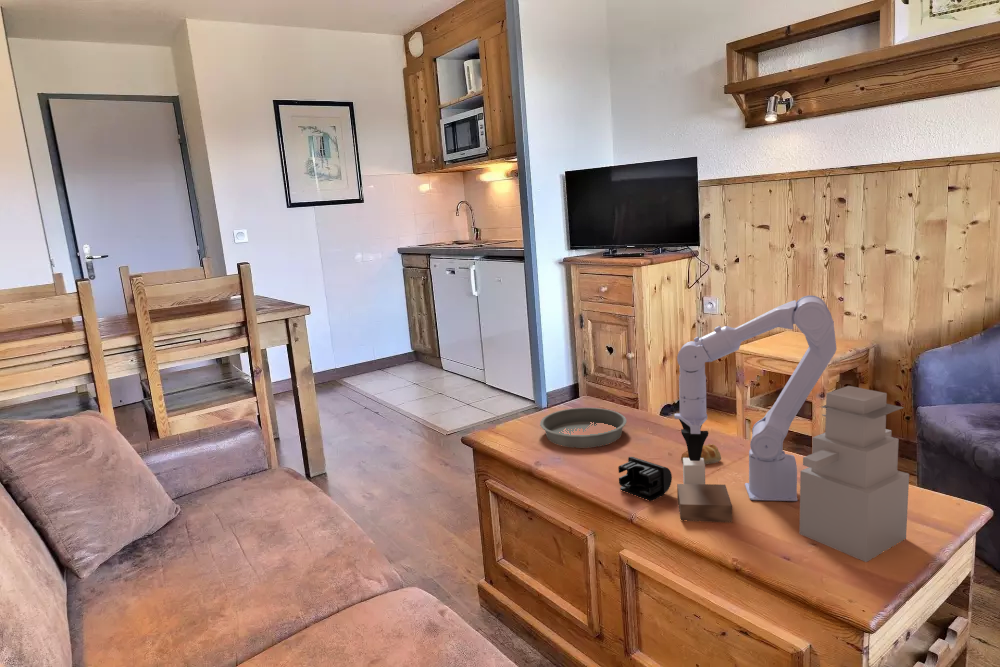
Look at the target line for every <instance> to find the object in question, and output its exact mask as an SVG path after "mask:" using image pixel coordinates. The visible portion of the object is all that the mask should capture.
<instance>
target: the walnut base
mask: <svg viewBox="0 0 1000 667" xmlns="http://www.w3.org/2000/svg"><path fill="white" fill-rule="evenodd" d="M676 484H677V485H676V487H677V490H676V491H677V495H676V496H677V505H679V506H678V512H680V513H679V517H680V518H679V519H681V520H683V521H682V522H685V521H684V520H687V521H686V522H699V521H701V523H702V522H703V523H705V522H706V523H709V522H711V523H733V504H732V501H731V498H730V494H729V492H728V489H727V485H726V484H714V483H713V484H711V483H709V484H707V483H705V484H684V483H676ZM681 520H680V521H681Z"/></svg>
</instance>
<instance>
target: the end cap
mask: <svg viewBox="0 0 1000 667" xmlns="http://www.w3.org/2000/svg"><path fill="white" fill-rule="evenodd" d="M627 459H628V460H627V462H626V463H623V464H621V465H619V466H618V473H619V474H621V473H623V472H625V471H626V474H624V475H622V476H619V477H618V484H619V486H620V487H619V489H620V491H621V490H622V491H621V492H623V491H625V492H624V493H626V492H628V493H627V494H629V493H630V495H631V494H633V495H632V496H634V495H636V496H635V497H637V496H638V497H637V498H639V497H641V498H640V499H642V498H644V499H643V500H645V499H647V500H649V502H654V501H655V500H657V499H659V498H662V497H663V496H664V495H665V493H667V492H668V490H669V489H670V487H671V485H672V481H673V476H672V475H673V474H672V472H671V470H670V469H669V468H668V467H666V466H663V465H661V464H660V465H659V464H657V463H653V462H650V461H647V460H645V459H644V460H643V459H641V458H638V457H635V456H629V457H628V458H627ZM647 500H646V501H647ZM653 500H654V501H653Z"/></svg>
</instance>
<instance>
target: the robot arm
mask: <svg viewBox="0 0 1000 667" xmlns="http://www.w3.org/2000/svg"><path fill="white" fill-rule="evenodd" d="M834 322H835V321H834V319H833V317H832V314H831V311H830V310H829V308H828V305H827V304H826V302H825V301H824V300H823V299H822V298H821V297H819V296H816V295H811V294H810V295H805V296H804V295H803V296H802V297H801V298H799V299H797V301H796V299H795V300H791V301H788V302H786V303H784V304H781V305H778V306H776V307H774V308H772V309H770V310H769V311H767V312H764V313H762V314H761V315H758V316H756V317H755V318H753V319H751V320H749V321H746V322H745V323H743V324H741V325H738V326H737V327H731V326H729V325H724V326H722V327H721V325H718V326H716V327H714V329H713V331H712V332H709V333H707V334H705V335H703V336H701V337H699V336H696V337H694V338H693V340H691V341H688V342H685V343H684V344H683V345H682V346H681V348H680V349H679V351H678V353H677V358H676V359H677V360H676V362H677V364H678V366H679V371H678V372H679V375H678V376H679V377H678V385H679V386H678V388H679V389H678V390H679V391H678V392H679V393H678V394H679V398H678V399H679V413H678V412H677V413H674V416H673V417H674V419H675V420H679V422H680V424H681V426H682V428H681V429H680V431H681V435H682V437H683V439H684V441H685V444H686V447H687V448H686V449H687V450H688V455H689V459H690V461H700V458H701V454H702V448H703V445H705V442H706V439H707V438H708V437H709V430H701V429H702V427H703V424H704V423H705V422H707V420H708V414H707V376H706V363H712V362H714V361H716V360H719V359H721V358H723V357H725V356H727V355H730V354H732V353H735V352H736V351H739V350H740V347H741V344H742V342H744V341H747V340H749V339H752V338H754V337H757V336H759V335H762V334H764V333H767V332H770V331H772V330H774V329H777V328H780V329H781V328H782V329H788V330H794V325H796V327H797V328H798V330H800V332H801V333H802V334H803V335H804V337H805V340H806V342H807V345H808V348H807V349H806V351H805V353H804V354H803V356H802V358H801V359H800V361H799V362H798V364H797V366H796V367H795V368H794V370H793V372H792V374H791V375H790V377H789V379H788V381H787V382H786V383H785V385H784V387H783V388H782V390H781V392H780V393H779V395H778V397H777V398H776V400H775V402H774V404H773V405H772V407H771V408H770V409H769V410H768V411H767V412H766V414H765V415H764V417H763V418H760V420H757V421H756V422H755V423H754V424H753V426H752V429H751V440H750V442H749V443H750V444H749V446H750V449H749V450H748V482H745V483H744V487H745V490H746V492H747V494H748V498H749V499H750V501H775V502H776V501H778V502H779V501H780V502H782V501H783V502H786V501H787V502H798V491H797V490H798V486H797V485H798V465H797V459H796V457H795V455H794V454H788V453H786V452H785V451H784V449H783V447H784V445H783V444H784V440H785V438H786V437H787V435H788V432H789V430H790V427H791V424H792V422H793V421H794V419H795V418H796V416H797V415H798V413H799V411H800V409H801V408H802V407H803V405H804V403H805V402H806V400H807V398H808V397H809V396H810V394H811V392H812V390H813V389H814V387H815V386H816V384H817V383H818V381H820V380H819V379H820V378H821V376H822V375H823V374H824V372H825V370H826V369H827V367H828V365H829V363H830V362H831V361H832V359H833V357H834V355H835V354H836V351H837V340H836V332H835V323H834Z"/></svg>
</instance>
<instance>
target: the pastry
mask: <svg viewBox="0 0 1000 667" xmlns="http://www.w3.org/2000/svg"><path fill="white" fill-rule="evenodd" d="M683 458H689V455H688V449H687V450H686V451H684V452H683V453H681V458H680V461H682V462H683ZM701 458H703V459H704V463H705V465H709V464H711V465H712V464H717V463H719V461H720V462H721V460H722V456H721V453H720V451H719V447H717V446H716V444H714V443H712V444H711V443H708V444H706V445H705V444H704V445H703V448H702V454H701ZM716 462H717V463H716Z"/></svg>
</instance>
